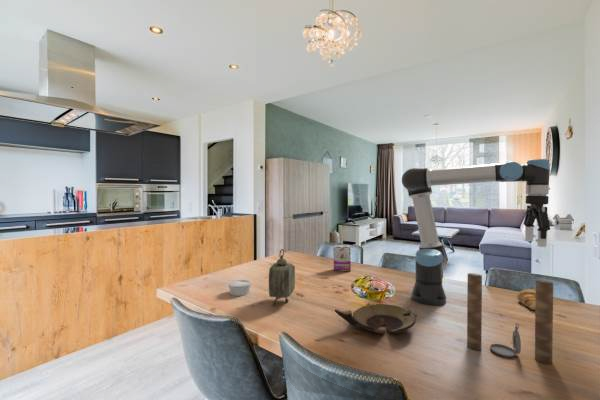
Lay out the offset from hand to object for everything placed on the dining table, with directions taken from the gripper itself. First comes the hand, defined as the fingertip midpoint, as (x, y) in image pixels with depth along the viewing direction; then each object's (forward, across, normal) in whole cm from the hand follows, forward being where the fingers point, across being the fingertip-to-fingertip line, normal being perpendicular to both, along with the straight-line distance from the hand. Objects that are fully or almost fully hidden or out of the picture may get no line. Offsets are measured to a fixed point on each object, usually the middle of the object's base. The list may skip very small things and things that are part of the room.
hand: (535, 243), depth 121 cm
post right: (+29, -45, +12) cm, 55 cm away
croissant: (+29, +7, -2) cm, 30 cm away
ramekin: (+32, -30, +132) cm, 139 cm away
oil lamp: (+30, -42, +62) cm, 81 cm away
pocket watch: (+29, -45, +21) cm, 58 cm away
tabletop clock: (+31, -33, +106) cm, 115 cm away
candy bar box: (+31, +31, +93) cm, 103 cm away
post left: (+29, -45, +30) cm, 61 cm away
